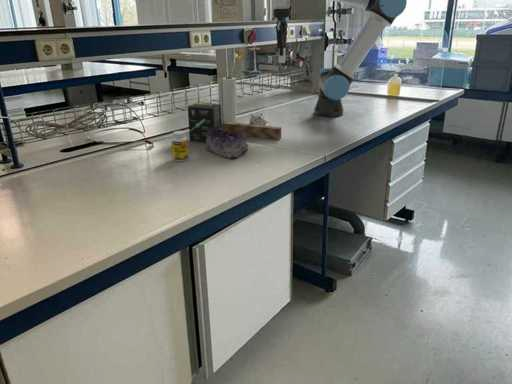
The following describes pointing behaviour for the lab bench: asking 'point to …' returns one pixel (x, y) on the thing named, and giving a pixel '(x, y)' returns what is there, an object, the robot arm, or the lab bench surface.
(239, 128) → the board
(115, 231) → the lab bench surface
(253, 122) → the game die
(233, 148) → the geode
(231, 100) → the paper towel roll
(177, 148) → the supplement bottle
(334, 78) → the robot arm
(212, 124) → the tampon box
